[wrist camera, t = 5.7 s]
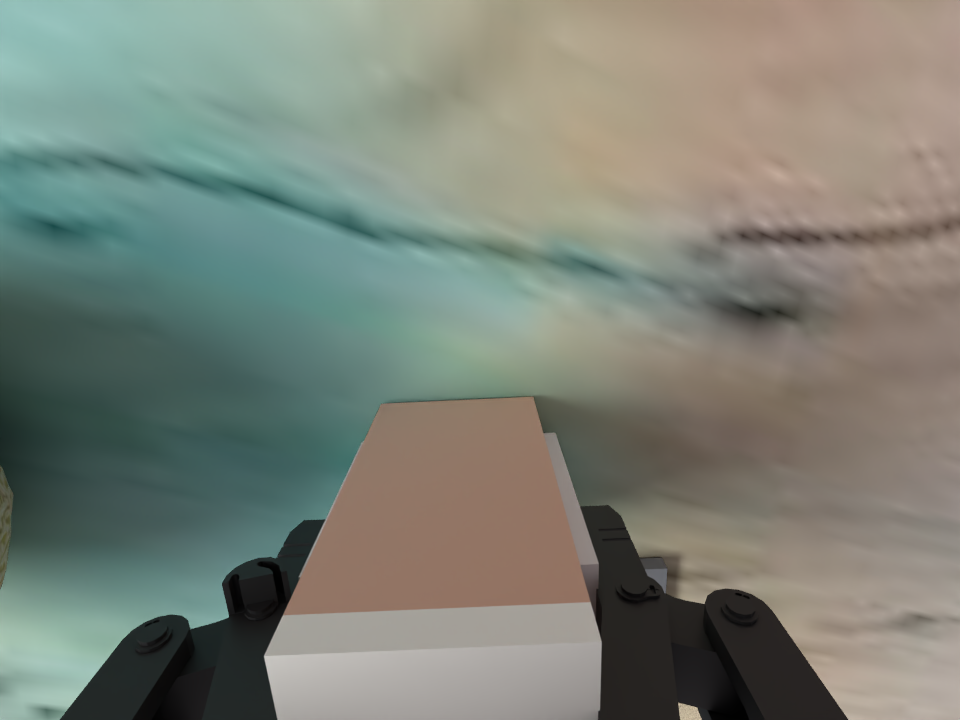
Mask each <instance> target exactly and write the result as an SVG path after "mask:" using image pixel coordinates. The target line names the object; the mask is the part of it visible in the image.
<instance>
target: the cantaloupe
mask: <svg viewBox="0 0 960 720" xmlns="http://www.w3.org/2000/svg"><path fill="white" fill-rule="evenodd" d="M12 506H13V492H12V491H11V489H10V487H9V485H8V482H7V479H6V476H5V474H4V471H3V468H2V467H1V466H0V589H1V587H2V584H3V580H4V576H5V571H6V567H7V561H8V551H9V544H10V538H11V513H12Z"/></svg>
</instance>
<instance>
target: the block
mask: <svg viewBox="0 0 960 720" xmlns="http://www.w3.org/2000/svg"><path fill="white" fill-rule="evenodd" d="M601 650H602V641H601V638H600V634H599V630H598V627H597V623H596V620H595V616H594V613H593V609H592V605H591V602H590V598H589V595H588V591H587V587H586V584H585V580H584V577H583V573H582V570H581V566H580V562H579V559H578V555H577V552H576V548H575V545H574V541H573V537H572V534H571V530H570V527H569V523H568V519H567V516H566V512H565V509H564V505H563V502H562V498H561V494H560V491H559V487H558V484H557V480H556V476H555V473H554V469H553V466H552V462H551V459H550V455H549V451H548V448H547V444H546V441H545V437H544V434H543V430H542V426H541V423H540V419H539V416H538V412H537V408H536V405H535V401H534V398H533V397H514V398H492V399H471V400H450V401H428V402H407V403H386V404H381V405H380V407H379V409H378V412H377V414H376V416H375V418H374V420H373V422H372V425H371V427H370V429H369V431H368V433H367V435H366V437H365V440H364V442H363V444H362V446H361V448H360V450H359V453H358V455H357V457H356V459H355V461H354V463H353V465H352V468H351V470H350V472H349V474H348V476H347V478H346V481H345V483H344V485H343V487H342V489H341V491H340V493H339V496H338V498H337V500H336V502H335V504H334V506H333V509H332V511H331V513H330V515H329V517H328V519H327V521H326V524H325V526H324V528H323V530H322V532H321V534H320V537H319V539H318V541H317V543H316V545H315V547H314V549H313V552H312V554H311V556H310V558H309V560H308V562H307V565H306V567H305V569H304V571H303V573H302V575H301V577H300V580H299V582H298V584H297V586H296V588H295V590H294V592H293V595H292V597H291V599H290V601H289V603H288V605H287V608H286V610H285V612H284V614H283V616H282V618H281V620H280V623H279V625H278V627H277V629H276V631H275V633H274V636H273V638H272V640H271V642H270V644H269V646H268V648H267V651H266V653H265V655H264V659H265V664H266V668H267V673H268V678H269V682H270V687H271V692H272V696H273V701H274V706H275V710H276V715H277V720H598V711H600V690H601Z"/></svg>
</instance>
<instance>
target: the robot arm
mask: <svg viewBox="0 0 960 720" xmlns="http://www.w3.org/2000/svg"><path fill="white" fill-rule="evenodd" d="M543 434H544V437H545V441H546V444H547V448H548V451H549V455H550V459H551V462H552V466H553V469H554V473H555V476H556V480H557V484H558V487H559V491H560V494H561V498H562V502H563V505H564V509H565V512H566V516H567V519H568V523H569V527H570V530H571V534H572V537H573V541H574V545H575V548H576V552H577V555H578V559H579V562H580V566H581V570H582V573H583V577H584V580H585V584H586V587H587V591H588V595H589V598H590V602H591V605H592V609H593V613H594V616H595V620H596V623H597V627H598V630H599V634H600V638H601V641H602V650H601V690H600V711H598V720H680V716H679V707H678V702H679V703H683V704H687V705H690V706H694V707H697V708H698V711H699V713H700V716H701V718H702V720H848V719H847V717H846V716H845V714H844V713H843V711H842V710H841V709H840V707H839V706H838V704H837V703H836V701H835V700H834V699H833V697H832V696H831V694H830V693H829V691H828V690H827V689H826V687H825V686H824V684H823V683H822V681H821V680H820V679H819V677H818V676H817V674H816V673H815V671H814V670H813V669H812V667H811V666H810V664H809V663H808V661H807V660H806V658H805V657H804V656H803V654H802V653H801V651H800V650H799V648H798V647H797V646H796V644H795V643H794V641H793V640H792V638H791V637H790V636H789V634H788V633H787V631H786V630H785V628H784V627H783V626H782V624H781V623H780V621H779V620H778V618H777V617H776V616H775V614H774V613H773V611H772V610H771V609H770V608H769V607H768V606H767V605H766V604H765V603H764V602H763V601H762V600H760V599H758V598H757V597H755V596H753V595H752V594H749V593H746V592H743V591H740V590H734V589H721V590H716V591H714V592H712V593H711V594H709V595H708V596H707V599H706V602H705V604H700V603H695V602H690V601H685V600H681V599H678V598H674V597H672V596H670V595H668V594H665V593H664V591H663V588H662V586H661V585H660V584H659V583H658V582H657V581H656V580H654V579H653V578H651V577H649V576H647V573H646V571H645V569H644V567H643V564H642V562H641V560H640V558H639V556H638V553H637V551H636V549H635V547H634V544H633V542H632V540H631V538H630V535H629V533H628V531H627V530H626V527H625V524H624V522H623V520H622V518H621V516H620V515H619V514H618V513H617V512H616V511H615V510H613V509H612V508H611V507H610V506H609V505H605V506H583V507H580V505H579V502H578V499H577V496H576V493H575V490H574V487H573V484H572V481H571V478H570V475H569V472H568V469H567V466H566V463H565V460H564V457H563V454H562V451H561V448H560V445H559V442H558V439H557V436H556V433H543ZM362 444H363V442H361V444H360V447H359V449H358V451H357V453H356V455H355V457H354V459H353V462H352V464H351V466H350V468H349V470H348V472H347V474H346V477H345V479H344V481H343V483H342V485H341V487H340V489H339V492H338V494H337V496H336V498H335V500H334V502H333V504H332V507H331V509H330V511H329V513H328V515H327V517H326V519H324V520H304V521H303V522H302V523H300V524H299V525H298V526H297V527H296V528H295V529H293V530H292V531H291V532H290V534H289V536H288V537H287V539H286V541H285V543H284V546H283V547H282V548H281V550H280V552H279V554H278V558H272V557H267V558H258V559H254V560H251V561H248V562H245V563H243V564H242V565H240V566H238V567H236V568H235V569H233V570H232V571H231V572H230V573H229V574H228V575H227V576H226V577H225V579H224V581H223V583H222V586H223V591H224V595H225V599H226V604H227V608H228V612H229V618H227V619H224V620H222V621H219V622H216V623H212V624H209V625H205V626H201V627H198V628H194V629H191V630H190V627H189V623H188V620H187V619H185V618H184V617H183V616H179V615H166V616H161V617H157V618H155V619H152V620H150V621H147V622H145V623H143V624H142V625H140V626H138V627H137V628H135V629H134V630H132V631H131V632H130V633H129V634H128V635H127V636H126V637H125V638H124V639H123V640H122V641H121V643H120V644H119V645H118V646H117V648H116V649H115V650H114V651H113V653H112V654H111V655H110V657H109V658H108V659H107V660H106V662H105V663H104V664H103V665H102V667H101V668H100V669H99V671H98V672H97V673H96V674H95V676H94V677H93V678H92V679H91V681H90V682H89V683H88V685H87V686H86V687H85V688H84V690H83V691H82V692H81V693H80V695H79V696H78V697H77V698H76V700H75V701H74V702H73V704H72V705H71V706H70V707H69V709H68V710H67V711H66V712H65V714H64V715H63V716H62V718H61V719H60V720H277V715H276V710H275V706H274V701H273V696H272V692H271V687H270V682H269V678H268V673H267V668H266V664H265V659H264V655H265V653H266V651H267V648H268V646H269V644H270V642H271V640H272V638H273V636H274V633H275V631H276V629H277V627H278V625H279V623H280V620H281V618H282V616H283V614H284V612H285V610H286V608H287V605H288V603H289V601H290V599H291V597H292V595H293V592H294V590H295V588H296V586H297V584H298V582H299V580H300V577H301V575H302V573H303V571H304V569H305V567H306V565H307V562H308V560H309V558H310V556H311V554H312V552H313V549H314V547H315V545H316V543H317V541H318V539H319V537H320V534H321V532H322V530H323V528H324V526H325V524H326V521H327V519H328V517H329V515H330V513H331V511H332V509H333V506H334V504H335V502H336V500H337V498H338V496H339V493H340V491H341V489H342V487H343V485H344V483H345V481H346V478H347V476H348V474H349V472H350V470H351V468H352V465H353V463H354V461H355V459H356V457H357V455H358V453H359V450H360V448H361V446H362Z"/></svg>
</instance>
